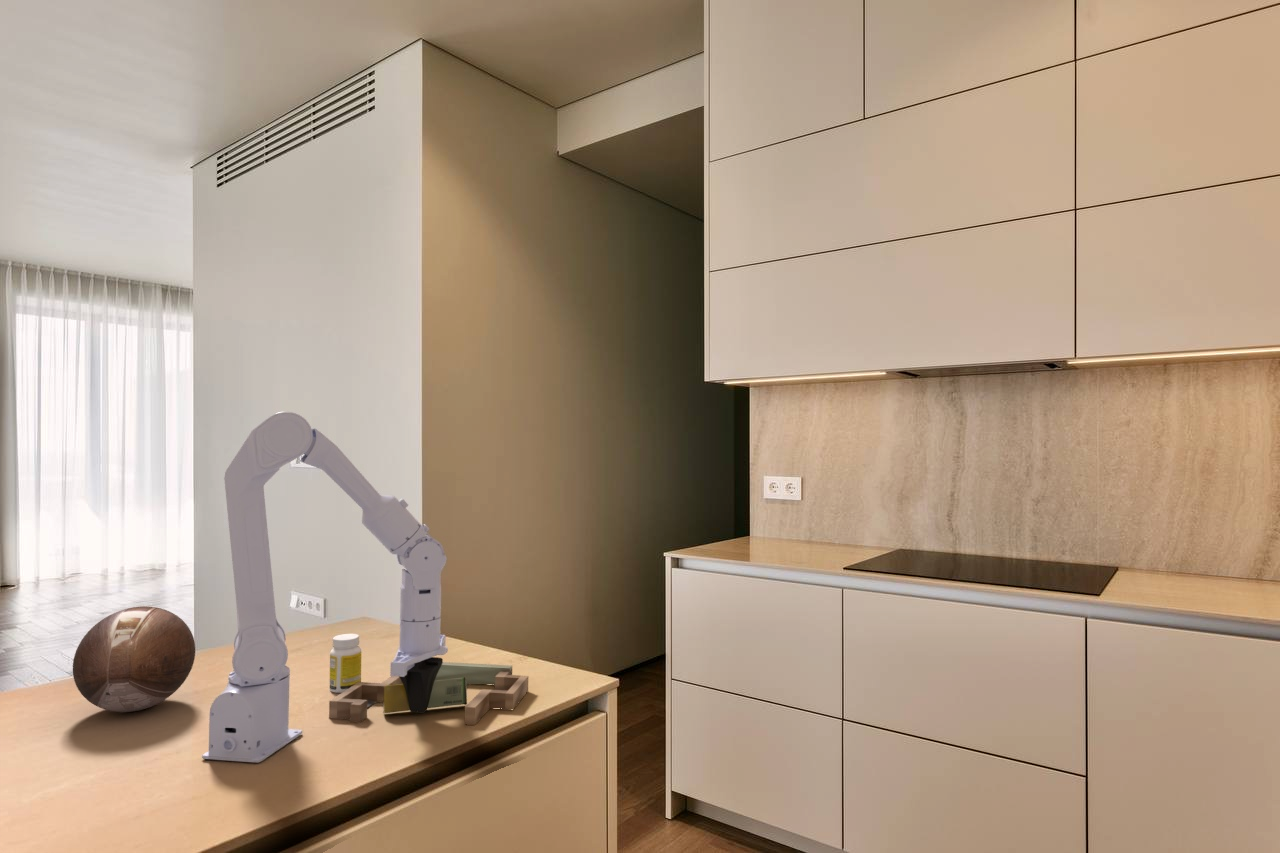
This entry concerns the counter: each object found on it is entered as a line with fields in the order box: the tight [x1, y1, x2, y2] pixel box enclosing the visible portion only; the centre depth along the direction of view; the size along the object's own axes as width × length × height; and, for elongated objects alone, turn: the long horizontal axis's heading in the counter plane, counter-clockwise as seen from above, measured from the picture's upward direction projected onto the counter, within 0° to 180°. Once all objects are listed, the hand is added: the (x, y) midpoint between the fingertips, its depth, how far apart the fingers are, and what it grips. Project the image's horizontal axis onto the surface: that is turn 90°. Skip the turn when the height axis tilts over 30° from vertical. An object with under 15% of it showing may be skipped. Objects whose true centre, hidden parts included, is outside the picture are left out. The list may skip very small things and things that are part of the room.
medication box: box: [382, 677, 468, 714], centre depth 108 cm, size 12×3×4 cm, turn 110°
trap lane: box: [328, 661, 529, 726], centre depth 112 cm, size 20×25×3 cm
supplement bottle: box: [329, 633, 362, 694], centre depth 118 cm, size 5×5×8 cm
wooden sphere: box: [72, 606, 196, 713], centre depth 108 cm, size 15×15×15 cm
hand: (418, 710), depth 105 cm, fingers closed
